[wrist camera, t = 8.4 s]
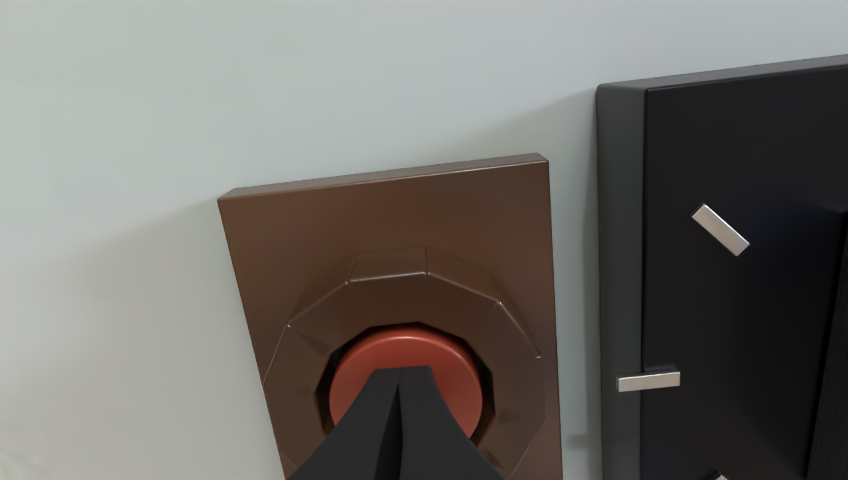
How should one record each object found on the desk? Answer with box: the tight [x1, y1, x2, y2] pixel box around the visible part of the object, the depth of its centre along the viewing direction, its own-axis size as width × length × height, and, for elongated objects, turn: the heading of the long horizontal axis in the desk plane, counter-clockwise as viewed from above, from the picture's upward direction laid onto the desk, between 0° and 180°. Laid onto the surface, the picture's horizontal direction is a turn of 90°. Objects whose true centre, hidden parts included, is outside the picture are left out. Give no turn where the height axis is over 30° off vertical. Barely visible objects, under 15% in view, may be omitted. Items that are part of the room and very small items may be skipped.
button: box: [329, 321, 483, 438], centre depth 13 cm, size 4×4×2 cm
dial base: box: [597, 54, 848, 480], centre depth 13 cm, size 13×11×3 cm
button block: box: [217, 153, 563, 480], centre depth 14 cm, size 10×8×3 cm
